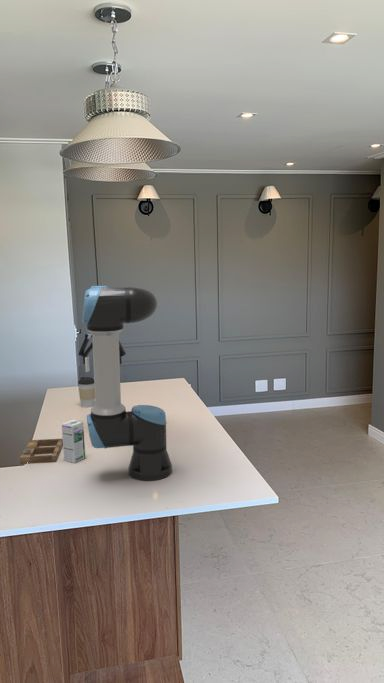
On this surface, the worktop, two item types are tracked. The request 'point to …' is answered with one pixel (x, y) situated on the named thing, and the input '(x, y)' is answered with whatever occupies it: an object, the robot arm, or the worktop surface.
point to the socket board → (41, 451)
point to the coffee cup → (86, 391)
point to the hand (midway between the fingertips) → (102, 371)
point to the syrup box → (73, 441)
